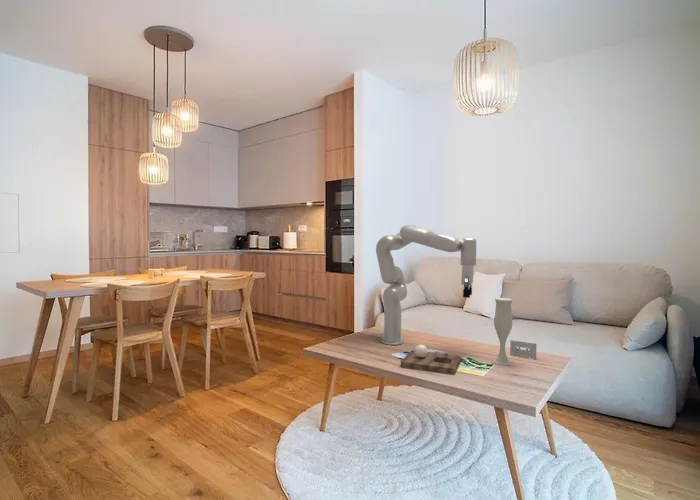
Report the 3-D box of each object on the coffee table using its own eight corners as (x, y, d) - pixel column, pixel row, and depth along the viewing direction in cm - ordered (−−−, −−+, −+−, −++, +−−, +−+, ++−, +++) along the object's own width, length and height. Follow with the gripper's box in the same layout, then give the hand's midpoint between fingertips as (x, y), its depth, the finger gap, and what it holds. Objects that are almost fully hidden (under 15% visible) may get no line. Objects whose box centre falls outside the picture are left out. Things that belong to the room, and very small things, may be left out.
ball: (413, 358, 184) (413, 345, 183) (416, 354, 189) (416, 342, 189) (425, 360, 181) (426, 347, 181) (428, 356, 187) (428, 343, 187)
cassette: (509, 355, 198) (510, 340, 198) (510, 354, 199) (510, 339, 199) (535, 359, 191) (536, 344, 191) (536, 358, 193) (536, 343, 192)
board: (400, 367, 179) (400, 361, 179) (411, 355, 197) (411, 350, 197) (454, 374, 169) (454, 368, 169) (461, 361, 188) (461, 356, 188)
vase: (488, 360, 189) (489, 298, 188) (502, 358, 193) (503, 297, 192) (502, 366, 181) (503, 301, 180) (516, 363, 185) (517, 300, 184)
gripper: (462, 261, 209) (461, 293, 210) (458, 263, 193) (457, 298, 194) (477, 261, 206) (476, 294, 207) (474, 263, 190) (473, 299, 191)
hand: (467, 296), depth 200 cm, fingers open, 9 cm apart
